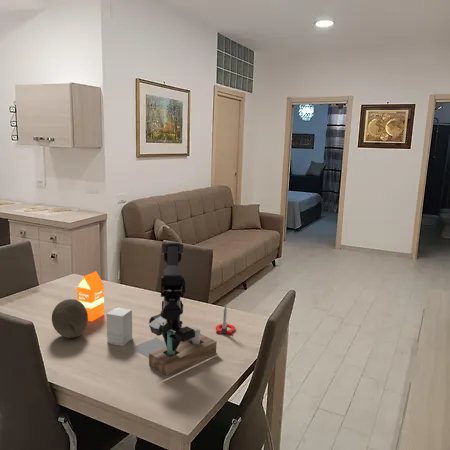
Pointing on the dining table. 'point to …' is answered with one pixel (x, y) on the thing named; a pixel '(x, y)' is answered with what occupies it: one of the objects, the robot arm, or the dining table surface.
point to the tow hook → (225, 325)
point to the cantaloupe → (70, 318)
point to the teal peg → (170, 344)
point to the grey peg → (196, 337)
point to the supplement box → (119, 326)
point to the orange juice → (92, 295)
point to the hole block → (182, 355)
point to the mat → (149, 346)
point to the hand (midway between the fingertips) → (171, 349)
